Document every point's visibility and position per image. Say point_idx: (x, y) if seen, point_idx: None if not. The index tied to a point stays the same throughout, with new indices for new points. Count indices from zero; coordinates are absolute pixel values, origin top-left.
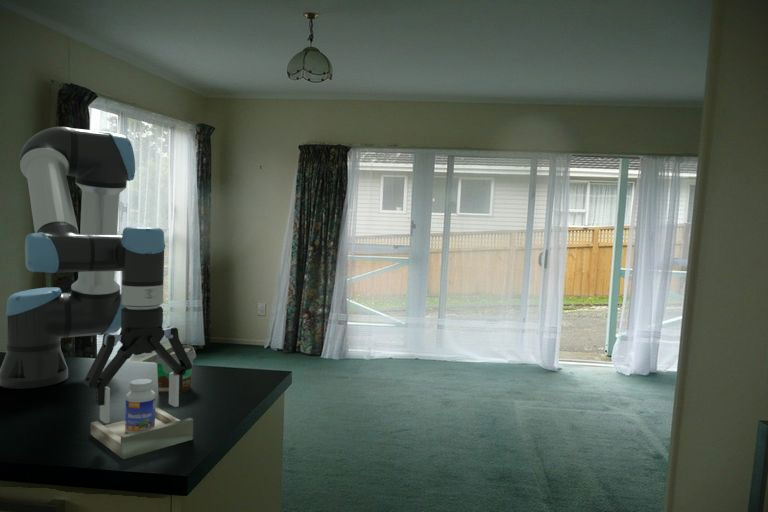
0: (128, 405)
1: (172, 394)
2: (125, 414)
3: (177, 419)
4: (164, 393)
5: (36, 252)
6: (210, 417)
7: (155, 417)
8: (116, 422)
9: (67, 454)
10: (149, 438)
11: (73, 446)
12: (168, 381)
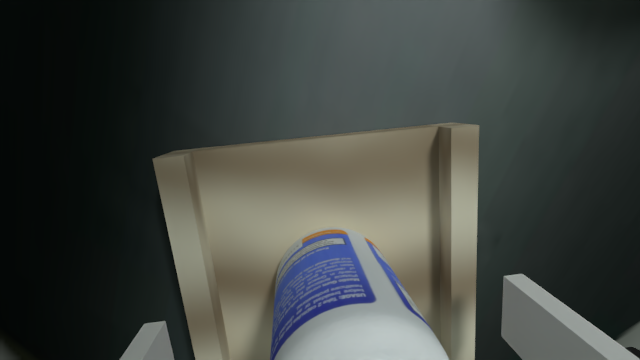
0: None
1: (547, 353)
2: (274, 311)
3: (471, 319)
4: None
5: None
6: (603, 230)
7: (434, 176)
8: (278, 143)
9: (72, 292)
10: None
11: (98, 233)
12: None
